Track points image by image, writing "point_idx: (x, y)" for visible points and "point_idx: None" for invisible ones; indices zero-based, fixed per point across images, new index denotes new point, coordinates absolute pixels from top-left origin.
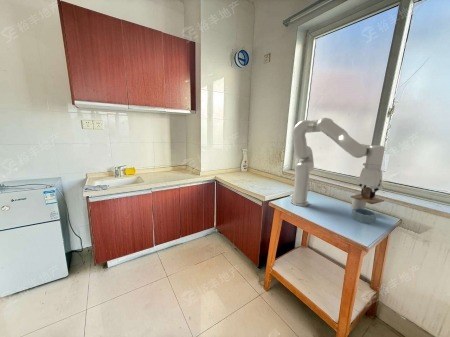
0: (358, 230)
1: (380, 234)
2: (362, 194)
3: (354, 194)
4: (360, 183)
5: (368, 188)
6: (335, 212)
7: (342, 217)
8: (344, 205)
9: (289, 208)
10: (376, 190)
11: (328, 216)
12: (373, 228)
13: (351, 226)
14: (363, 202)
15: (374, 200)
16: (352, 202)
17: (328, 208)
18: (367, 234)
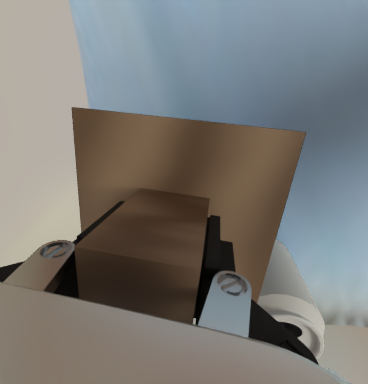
0: (147, 3)
1: (85, 74)
2: (203, 212)
3: (319, 325)
4: (287, 350)
5: (138, 304)
6: (331, 124)
7: (272, 90)
8: (330, 267)
9: None
10: (4, 267)
11: (342, 8)
12: (127, 110)
13: (188, 15)
14: None
15: (107, 208)
16: (297, 270)
17: None
18: (106, 5)
